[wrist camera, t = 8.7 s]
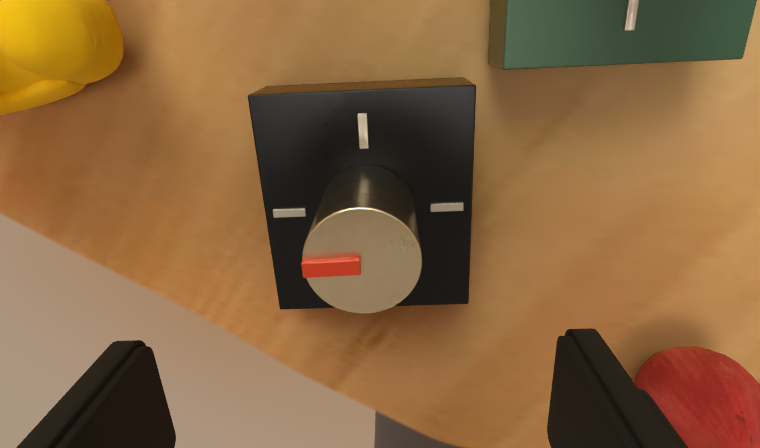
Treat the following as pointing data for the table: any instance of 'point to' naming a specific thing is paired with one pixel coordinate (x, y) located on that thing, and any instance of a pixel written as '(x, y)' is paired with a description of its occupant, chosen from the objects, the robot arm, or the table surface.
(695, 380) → the onion
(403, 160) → the panel
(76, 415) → the robot arm
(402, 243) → the dial
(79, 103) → the table surface
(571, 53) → the panel
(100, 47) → the duckling
